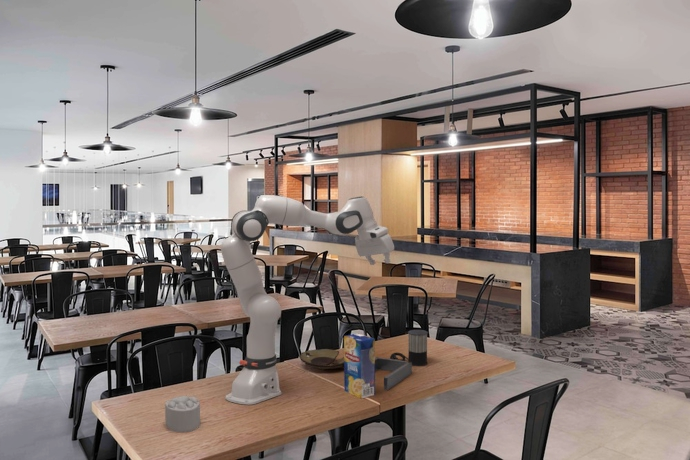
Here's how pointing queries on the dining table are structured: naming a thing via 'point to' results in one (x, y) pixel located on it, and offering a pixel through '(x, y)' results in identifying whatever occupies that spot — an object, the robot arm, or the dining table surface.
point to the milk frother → (415, 348)
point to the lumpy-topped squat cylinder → (182, 414)
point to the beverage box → (359, 365)
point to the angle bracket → (393, 370)
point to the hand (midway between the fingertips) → (380, 263)
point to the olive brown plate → (322, 358)
